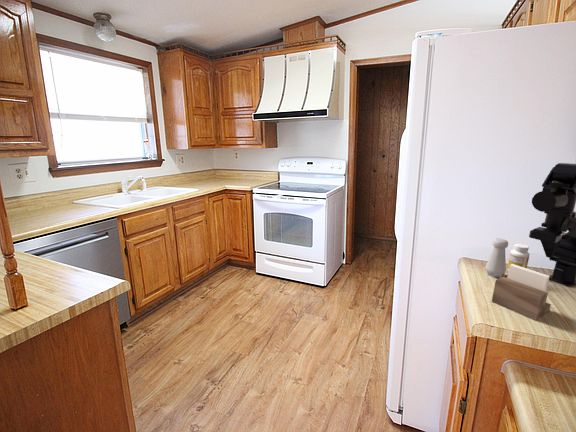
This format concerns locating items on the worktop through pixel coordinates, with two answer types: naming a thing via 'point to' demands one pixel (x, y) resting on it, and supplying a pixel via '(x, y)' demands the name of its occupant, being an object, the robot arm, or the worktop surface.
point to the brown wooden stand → (520, 298)
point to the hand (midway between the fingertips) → (548, 257)
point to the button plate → (528, 277)
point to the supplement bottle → (519, 256)
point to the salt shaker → (497, 259)
